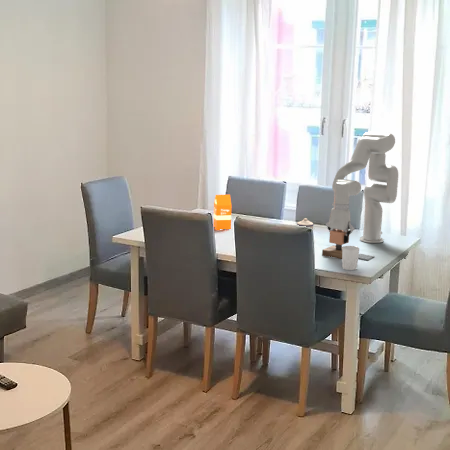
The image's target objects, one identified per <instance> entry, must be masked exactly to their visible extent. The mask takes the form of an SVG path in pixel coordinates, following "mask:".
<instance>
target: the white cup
mask: <svg viewBox="0 0 450 450" xmlns="http://www.w3.org/2000/svg"><path fill="white" fill-rule="evenodd" d="M359 254H360V247H358V246H355V245H344V246H343V245H342V259H341V262H342V263H341V264H342V269H343V270H347V271H355V270H357V268H358V263H359V259H358V256H359Z"/></svg>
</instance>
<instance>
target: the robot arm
mask: <svg viewBox="0 0 450 450" xmlns="http://www.w3.org/2000/svg"><path fill="white" fill-rule="evenodd" d="M395 143H396V137H395V135H394V134H392V133H390V132H377V131H368V132H367V131H366V132H365V133H363V135H362V137H360V138H359V139H358V141H357V143H356V145H355V148H354V150H353V153H352V155H351V159H350V160H349V161H348V162H346V163H345V164H343V165H342V166H341V167H340V168H339V169H338V170H337V172H336V173H335V177H333V182H332V191H333V202H332V203H331V206H332V208H331V211H330V214H329V221H328V222H326V223H325V225H326V228H327V230H328V231H329V233H330V231H331V230H335V229H337V230H343V231H344V233H345V235H344V243H346V244H348V239H349V240H350V235H351V234H352V233H353V231H355V227H354V226H353V225H352V224H351V210H350V208H349V207H350V196H357V195H359V194H360V192H361V191H362V185H361V183H360V181H357V180H352V179H345V178H346V177H347V176H348V175H350V174H352V173H355V172H358V171H362V170H364V169H365V168H366V167H367V165H368V180H370V181H373V182H377V183H369V184H367V185H366V186H364V189H363V196H364V215H363V217H364V218H363V228H362V229H363V232H362V236H361V237H359V241H361V242H363V243H367V244H380V243H383V242H384V238H383V237H382V235H383V232H382V221H383V206H382V205H381V203H386V204H392V203H394V202H396V200H397V196H398V187H399V186H398V185H399V184H398V183H399V170H398V167H396V166H395V165H393V164H387V163H386V156H387V155H386V153H387V152H389V151H391V150H393V148H394V146H395ZM379 183H380V184H379ZM382 183H386V184H382Z"/></svg>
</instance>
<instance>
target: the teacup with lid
mask: <svg viewBox="0 0 450 450" xmlns="http://www.w3.org/2000/svg"><path fill="white" fill-rule="evenodd" d="M297 225H299V226H306V227H310V228H312V229H313V230H314V223H313V222H312V221H310V220H308V218H306V217H305V218H303V220H301V221H297V223H296V226H297Z"/></svg>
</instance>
